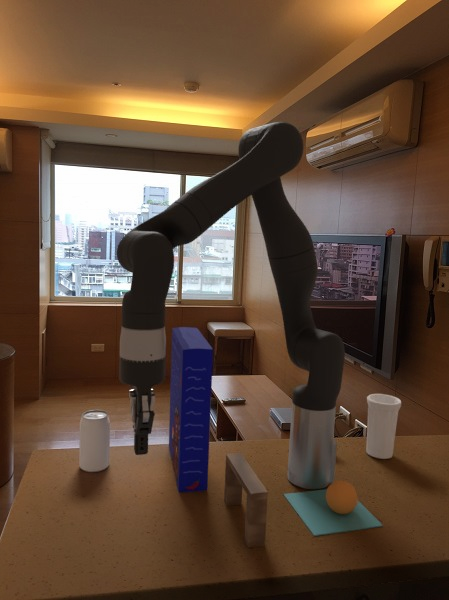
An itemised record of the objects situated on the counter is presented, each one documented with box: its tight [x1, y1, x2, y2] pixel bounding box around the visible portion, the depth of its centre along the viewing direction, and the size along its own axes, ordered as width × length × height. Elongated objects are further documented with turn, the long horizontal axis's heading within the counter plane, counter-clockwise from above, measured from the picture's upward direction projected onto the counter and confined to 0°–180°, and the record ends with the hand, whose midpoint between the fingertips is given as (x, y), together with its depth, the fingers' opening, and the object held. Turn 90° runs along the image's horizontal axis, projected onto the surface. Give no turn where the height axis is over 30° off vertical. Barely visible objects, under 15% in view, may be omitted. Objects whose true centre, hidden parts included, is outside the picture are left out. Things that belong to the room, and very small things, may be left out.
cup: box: [365, 393, 402, 460], centre depth 120 cm, size 8×8×14 cm
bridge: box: [223, 452, 269, 548], centre depth 89 cm, size 3×15×10 cm, turn 16°
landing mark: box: [283, 488, 384, 537], centre depth 95 cm, size 14×14×1 cm
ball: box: [326, 480, 359, 514], centre depth 94 cm, size 6×6×6 cm
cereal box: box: [168, 326, 214, 493], centre depth 108 cm, size 22×6×30 cm, turn 12°
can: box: [78, 409, 111, 473], centre depth 108 cm, size 6×6×12 cm
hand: (140, 452), depth 83 cm, fingers closed
